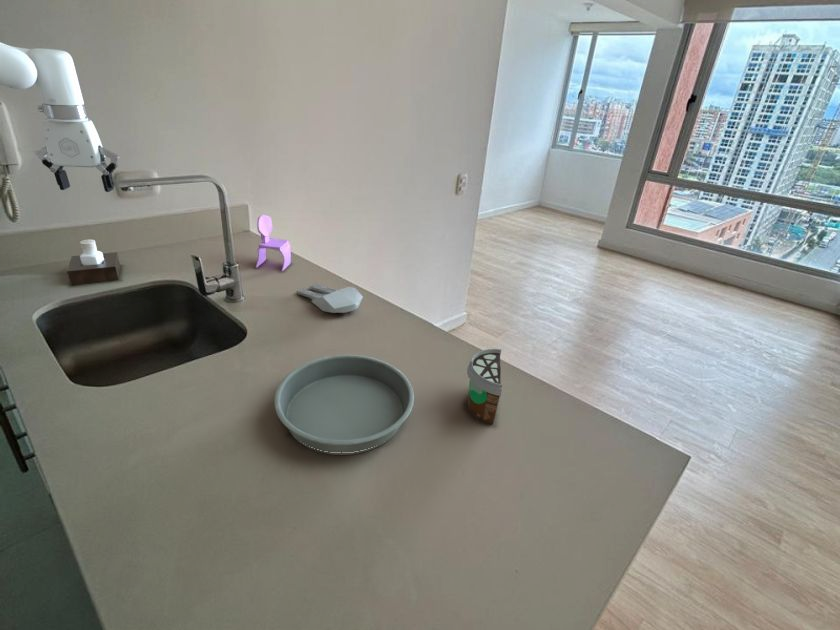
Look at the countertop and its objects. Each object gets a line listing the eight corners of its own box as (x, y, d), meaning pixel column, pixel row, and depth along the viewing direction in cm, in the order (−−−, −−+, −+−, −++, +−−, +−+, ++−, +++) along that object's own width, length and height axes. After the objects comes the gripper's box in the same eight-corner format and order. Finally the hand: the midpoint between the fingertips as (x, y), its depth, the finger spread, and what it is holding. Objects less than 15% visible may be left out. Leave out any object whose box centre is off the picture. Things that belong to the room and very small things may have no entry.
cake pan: (428, 389, 90) (430, 371, 88) (382, 482, 69) (383, 462, 67) (319, 359, 96) (318, 342, 93) (246, 437, 75) (243, 417, 73)
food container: (463, 383, 93) (470, 343, 88) (493, 388, 92) (501, 347, 87) (459, 424, 82) (466, 381, 77) (493, 429, 81) (502, 386, 77)
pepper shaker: (85, 278, 118) (74, 244, 114) (92, 271, 122) (82, 238, 117) (101, 278, 119) (92, 244, 114) (108, 271, 122) (99, 239, 118)
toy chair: (282, 272, 131) (279, 223, 124) (254, 268, 132) (248, 219, 124) (293, 262, 138) (290, 214, 131) (266, 258, 139) (261, 211, 132)
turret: (321, 292, 127) (319, 276, 125) (370, 308, 115) (369, 290, 113) (291, 303, 120) (289, 286, 118) (341, 321, 108) (339, 303, 106)
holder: (71, 285, 114) (66, 271, 112) (76, 269, 122) (71, 256, 120) (119, 280, 119) (115, 266, 117) (120, 265, 126) (116, 252, 124)
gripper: (11, 111, 95) (38, 192, 104) (101, 117, 98) (120, 195, 107) (32, 108, 102) (56, 184, 110) (116, 113, 105) (133, 187, 113)
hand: (87, 189), depth 108 cm, fingers open, 9 cm apart
